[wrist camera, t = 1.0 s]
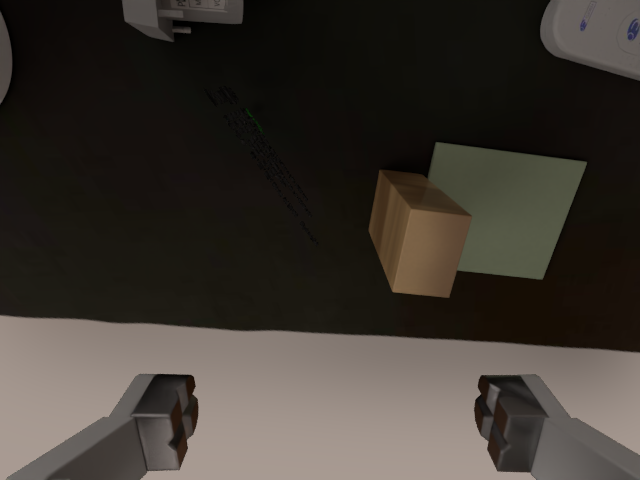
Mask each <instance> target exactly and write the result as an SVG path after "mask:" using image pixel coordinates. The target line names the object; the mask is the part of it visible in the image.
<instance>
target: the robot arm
mask: <svg viewBox="0 0 640 480" xmlns="http://www.w3.org/2000/svg"><path fill="white" fill-rule="evenodd" d="M11 75H12V49H11V43H10V38H9V34H8V30H7V27H6V24H5V21H4V19H3V16H2V14H1V12H0V104H1V102H2V101H3V99H4V97H5V95H6V93H7V90H8V88H9V84H10V80H11ZM195 387H196V386H195V381H194V377H193V376H192V375H177V374H139V375H137V376H136V377H135V378H134V380H133V381H132V383H131V384H130V386H129V388H128V389H127V390H126V392H125V393H124V395H123V396H122V398H121V399H120V401H119V402H118V404H117V405H116V407H115V408H114V410H113V411H112V413H111V414H110V416H109V417H103V418H101V419H100V420H98V421H96V422H95V423H93V424H91V425H90V426H88V427H87V428H85V429H83V430H82V431H80V432H79V433H77V434H76V435H74V436H72V437H71V438H69V439H68V440H66V441H65V442H63V443H61V444H60V445H58V446H56V447H55V448H53V449H52V450H50V451H49V452H47V453H45V454H44V455H42V456H41V457H39V458H37V459H36V460H34V461H33V462H31V463H29V464H28V465H26V466H25V467H23V468H22V469H20V470H18V471H17V472H15V473H14V474H12V475H10V476H9V477H7V479H6V480H140V479H141V478H142V477H143V476H144V475H145V474H146V473H147V471H160V470H161V471H162V470H180V467H181V464H182V462H183V459H184V457H185V454H186V452H187V449H188V446H187V439H188V438H189V437H191V436H192V435H193V433H194V430H195V428H196V424H197V419H198V399H197V398H196V397H195V396H194V395H193V394H192V393H193V391H194V389H195ZM478 389H479V390H480V392H481V395H480V396H479V397H478V398H477V399H476V400H475V407H474V412H475V421H476V424H477V428H478V430H479V432H480V434H481V436H482V437H484V438H485V439H486V440H487V441H489V443H488V448H487V450H488V452H489V454H490V456H491V459H492V460H493V463H494V465H495V467H496V469H497V471H501V472H502V471H503V472H531V475H532V476H533V477H534V478H535V479H536V480H640V455H638V454H637V453H635V452H633V451H632V450H630V449H628V448H626V447H625V446H623V445H621V444H620V443H617V442H616V441H615V440H613V439H611V438H610V437H608V436H606V435H604V434H603V433H601V432H599V431H598V430H596V429H594V428H592V427H591V426H589V425H588V424H586V423H584V422H582V421H581V420H579V419H577V418H571V417H570V416H569V415H568V413H567V412H566V411H565V409H564V408H563V407H562V406H561V404H560V403H559V402H558V400H557V399H556V398H555V396H554V395H553V394H552V392H551V391H550V390H549V388H548V387H547V386H546V385H545V383H544V382H543V381H542V379H541V378H540V377H539V376H537V375H535V374H532V375H482V376H481V377H480V379H479V382H478Z"/></svg>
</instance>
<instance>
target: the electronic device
mask: <svg viewBox="0 0 640 480" xmlns="http://www.w3.org/2000/svg"><path fill="white" fill-rule="evenodd" d="M540 33H541V40H542V42H543V44H544V46H545V47H546V49H547V50H548V51H549V52H550V53H552V54H553V55H554V56H557V57H560V58H564V59H567V60H571V61H574V62H578V63H581V64H584V65H588V66H591V67H595V68H598V69H601V70H605V71H608V72H612V73H615V74H618V75H622V76H626V77H629V78H632V79H636V80H639V81H640V0H551V1H550V3H549V4H548V6H547V8H546V10H545V13H544V15H543V18H542V22H541V28H540Z"/></svg>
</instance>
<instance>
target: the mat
mask: <svg viewBox="0 0 640 480" xmlns="http://www.w3.org/2000/svg"><path fill="white" fill-rule="evenodd" d="M586 164H587V162H585V161H578V160H570V159H563V158H555V157H547V156H540V155H532V154H524V153H517V152H509V151H501V150H494V149H486V148H479V147H471V146H463V145H456V144H448V143H440V142H436V143H435V148H434V152H433V156H432V160H431V165H430V169H429V173H428V177H427V179H428V180H429V181H431V182H432V183H433V184H434V185H435V186H437V187H438V188H439V189H440V190H441V191H443V192H444V193H445V194H446V195H448V196H449V197H450V198H451V199H452V200H454V201H455V202H456V203H457V204H458V205H460V206H461V207H462V208H463V209H464V210H466V211H467V212H468V213H469V214H470V215H472V219H471V223H470V226H469V230H468V233H467V237H466V240H465V244H464V247H463V251H462V254H461V258H460V261H459V264H458V268H457V270H460V271H470V272H479V273H488V274H497V275H507V276H516V277H525V278H534V279H543V277H544V274H545V272H546V269H547V267H548V264H549V261H550V259H551V256H552V253H553V251H554V248H555V246H556V243H557V240H558V238H559V235H560V232H561V230H562V227H563V225H564V222H565V219H566V217H567V214H568V211H569V209H570V206H571V204H572V201H573V198H574V196H575V193H576V190H577V188H578V185H579V183H580V180H581V177H582V175H583V172H584V170H585V167H586Z"/></svg>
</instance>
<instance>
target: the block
mask: <svg viewBox="0 0 640 480" xmlns="http://www.w3.org/2000/svg"><path fill="white" fill-rule="evenodd" d="M471 219H472V215H470V214H469V213H468V212H467V211H466V210H464V209H463V208H462V207H461V206H460V205H458V204H457V203H456V202H455V201H454V200H452V199H451V198H450V197H449V196H448V195H446V194H445V193H444V192H443V191H441V190H440V189H439V188H438V187H437V186H435V185H434V184H433V183H432V182H431V181H429V180H428V179H427V178H426V177H425V176H423V175H422V174H415V173H407V172H399V171H391V170H383V169H380V171H379V176H378V182H377V187H376V192H375V198H374V203H373V209H372V214H371V219H370V225H369V233H370V235H371V238H372V240H373V243H374V245H375V248H376V251H377V253H378V256H379V258H380V261H381V263H382V266H383V268H384V271H385V274H386V276H387V279H388V281H389V284H390V286H391V289H392V291H393V292H398V293H408V294H417V295H427V296H437V297H447V298H449V296H450V292H451V289H452V285H453V282H454V278H455V275H456V271H457V268H458V264H459V261H460V258H461V254H462V251H463V247H464V244H465V240H466V237H467V233H468V230H469V226H470V223H471Z"/></svg>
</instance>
